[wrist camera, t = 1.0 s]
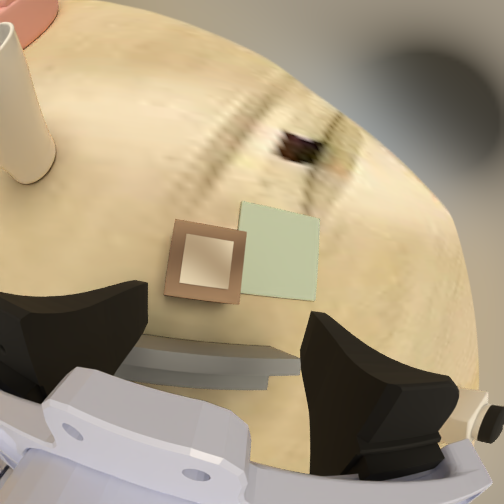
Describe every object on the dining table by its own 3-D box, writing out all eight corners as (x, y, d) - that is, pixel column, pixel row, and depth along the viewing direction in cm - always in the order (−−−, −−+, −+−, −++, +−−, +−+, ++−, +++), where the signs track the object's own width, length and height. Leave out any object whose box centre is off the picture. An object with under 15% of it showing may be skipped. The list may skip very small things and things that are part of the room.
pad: (313, 300, 25) (315, 300, 25) (230, 291, 23) (231, 291, 23) (317, 219, 27) (320, 218, 27) (240, 202, 25) (242, 200, 24)
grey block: (264, 388, 23) (294, 410, 17) (104, 373, 19) (87, 397, 13) (269, 345, 23) (301, 358, 18) (106, 327, 19) (87, 337, 14)
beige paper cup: (69, 127, 20) (31, 8, 6) (58, 189, 20) (-17, 81, 5) (16, 137, 18) (-39, 40, 4) (3, 197, 17) (-84, 117, 3)
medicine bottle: (435, 440, 29) (489, 456, 18) (433, 413, 29) (494, 427, 18) (456, 414, 32) (508, 423, 20) (456, 385, 32) (512, 393, 21)
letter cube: (225, 303, 23) (242, 304, 18) (163, 295, 21) (164, 294, 17) (232, 245, 24) (250, 231, 19) (172, 235, 22) (175, 218, 18)
